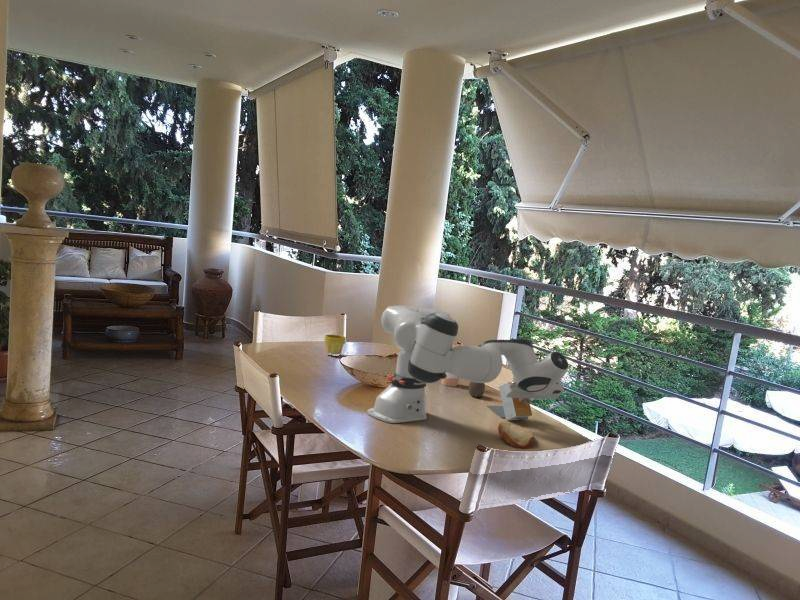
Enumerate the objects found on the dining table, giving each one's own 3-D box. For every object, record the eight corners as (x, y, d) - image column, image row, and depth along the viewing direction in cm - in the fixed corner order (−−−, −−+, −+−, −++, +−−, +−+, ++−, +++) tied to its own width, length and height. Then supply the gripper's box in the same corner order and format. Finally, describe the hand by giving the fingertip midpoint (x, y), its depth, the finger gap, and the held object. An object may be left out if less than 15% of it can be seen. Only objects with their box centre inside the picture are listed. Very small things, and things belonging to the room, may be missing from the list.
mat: (528, 418, 226) (528, 417, 226) (501, 418, 223) (501, 417, 223) (512, 407, 239) (512, 406, 239) (486, 406, 237) (487, 405, 236)
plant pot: (335, 352, 305) (337, 333, 304) (347, 356, 298) (349, 337, 296) (319, 353, 298) (320, 334, 297) (331, 358, 291) (333, 338, 289)
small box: (516, 416, 216) (508, 381, 221) (505, 420, 221) (497, 386, 226) (533, 415, 220) (524, 381, 225) (522, 419, 225) (514, 385, 230)
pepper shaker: (457, 383, 269) (462, 341, 267) (457, 387, 262) (462, 344, 259) (441, 381, 269) (446, 339, 267) (441, 385, 262) (446, 342, 260)
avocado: (479, 399, 245) (482, 379, 244) (464, 395, 249) (467, 375, 248) (486, 396, 251) (489, 376, 250) (471, 392, 255) (474, 373, 254)
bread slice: (503, 425, 216) (504, 415, 215) (548, 440, 204) (550, 430, 204) (476, 435, 202) (477, 424, 202) (523, 452, 191) (524, 440, 190)
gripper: (514, 389, 205) (500, 407, 216) (567, 391, 210) (550, 408, 221) (511, 373, 209) (496, 391, 219) (563, 375, 214) (547, 393, 224)
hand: (524, 400), depth 220 cm, fingers closed
